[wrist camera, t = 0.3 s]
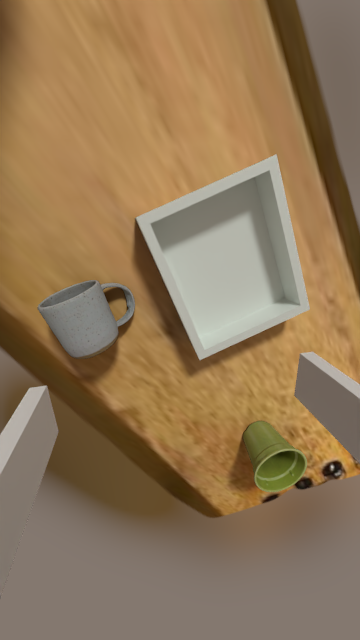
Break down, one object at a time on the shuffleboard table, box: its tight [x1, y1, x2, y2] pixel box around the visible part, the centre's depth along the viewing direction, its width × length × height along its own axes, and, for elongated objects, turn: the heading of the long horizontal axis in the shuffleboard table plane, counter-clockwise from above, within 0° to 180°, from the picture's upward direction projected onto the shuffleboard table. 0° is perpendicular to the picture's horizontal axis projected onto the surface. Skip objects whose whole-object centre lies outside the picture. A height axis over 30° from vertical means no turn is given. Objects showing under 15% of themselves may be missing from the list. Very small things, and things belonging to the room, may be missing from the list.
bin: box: [135, 154, 310, 360], centre depth 35 cm, size 20×17×5 cm
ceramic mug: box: [38, 280, 135, 359], centre depth 33 cm, size 11×8×8 cm
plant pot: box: [243, 421, 307, 492], centre depth 47 cm, size 9×9×9 cm
